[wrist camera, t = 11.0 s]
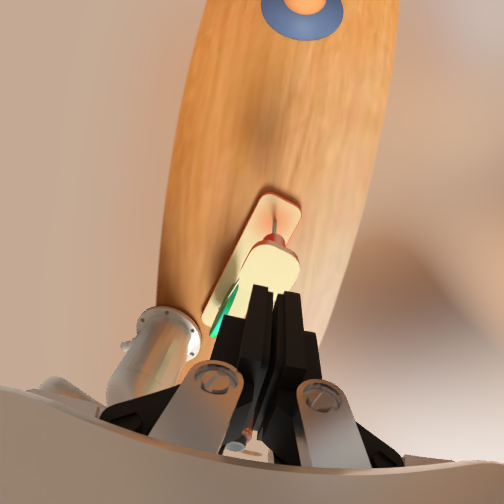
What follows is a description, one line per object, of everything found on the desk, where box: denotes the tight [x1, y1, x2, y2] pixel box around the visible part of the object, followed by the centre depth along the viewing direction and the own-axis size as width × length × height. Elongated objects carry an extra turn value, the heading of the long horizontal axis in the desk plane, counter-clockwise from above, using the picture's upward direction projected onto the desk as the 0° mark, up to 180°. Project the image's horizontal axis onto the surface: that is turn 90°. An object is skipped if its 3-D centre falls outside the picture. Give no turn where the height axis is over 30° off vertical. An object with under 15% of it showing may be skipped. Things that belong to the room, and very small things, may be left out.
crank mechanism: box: [201, 192, 302, 338], centre depth 40 cm, size 25×7×19 cm, turn 154°
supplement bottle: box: [226, 411, 254, 452], centre depth 55 cm, size 6×6×11 cm
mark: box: [261, 0, 343, 40], centre depth 33 cm, size 12×12×1 cm
